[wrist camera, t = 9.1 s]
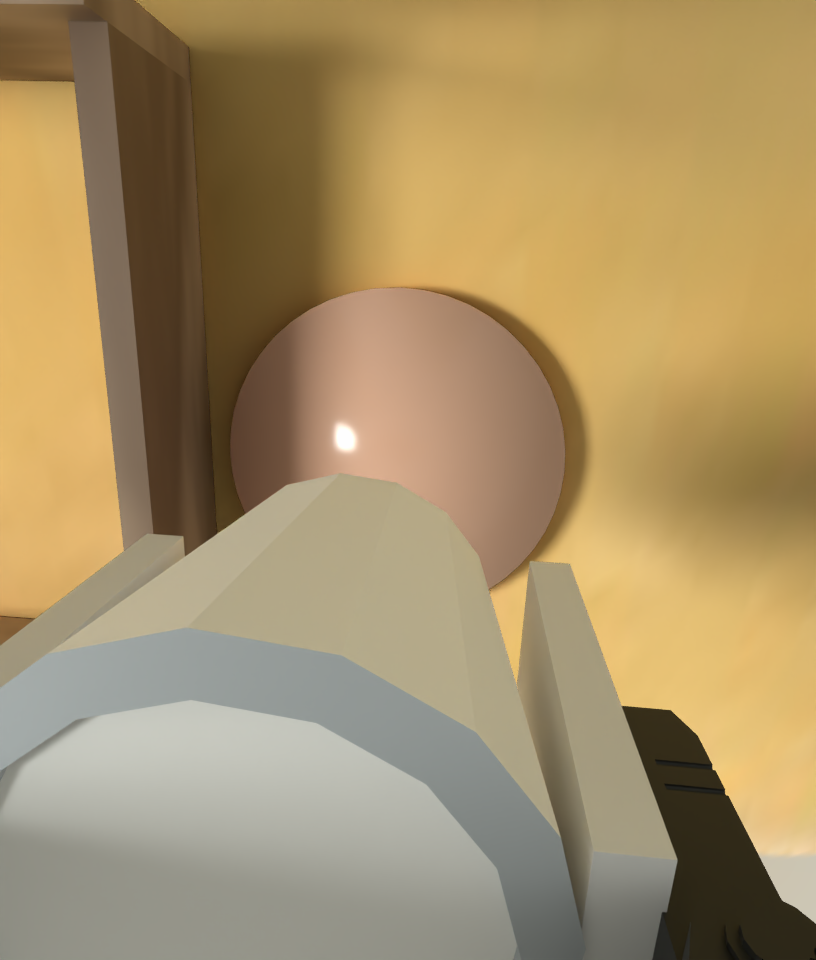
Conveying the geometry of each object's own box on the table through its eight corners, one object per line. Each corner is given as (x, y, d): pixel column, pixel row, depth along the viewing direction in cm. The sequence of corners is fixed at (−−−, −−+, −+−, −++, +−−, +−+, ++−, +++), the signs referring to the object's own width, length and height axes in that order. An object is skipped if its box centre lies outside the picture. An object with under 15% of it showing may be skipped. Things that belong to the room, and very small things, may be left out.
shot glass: (573, 687, 13) (689, 1105, 6) (284, 784, 14) (129, 1216, 8) (434, 382, 11) (396, 513, 5) (125, 523, 13) (-243, 779, 6)
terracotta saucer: (244, 591, 26) (237, 601, 25) (230, 280, 22) (221, 280, 21) (544, 613, 25) (546, 624, 24) (580, 294, 21) (584, 294, 20)
